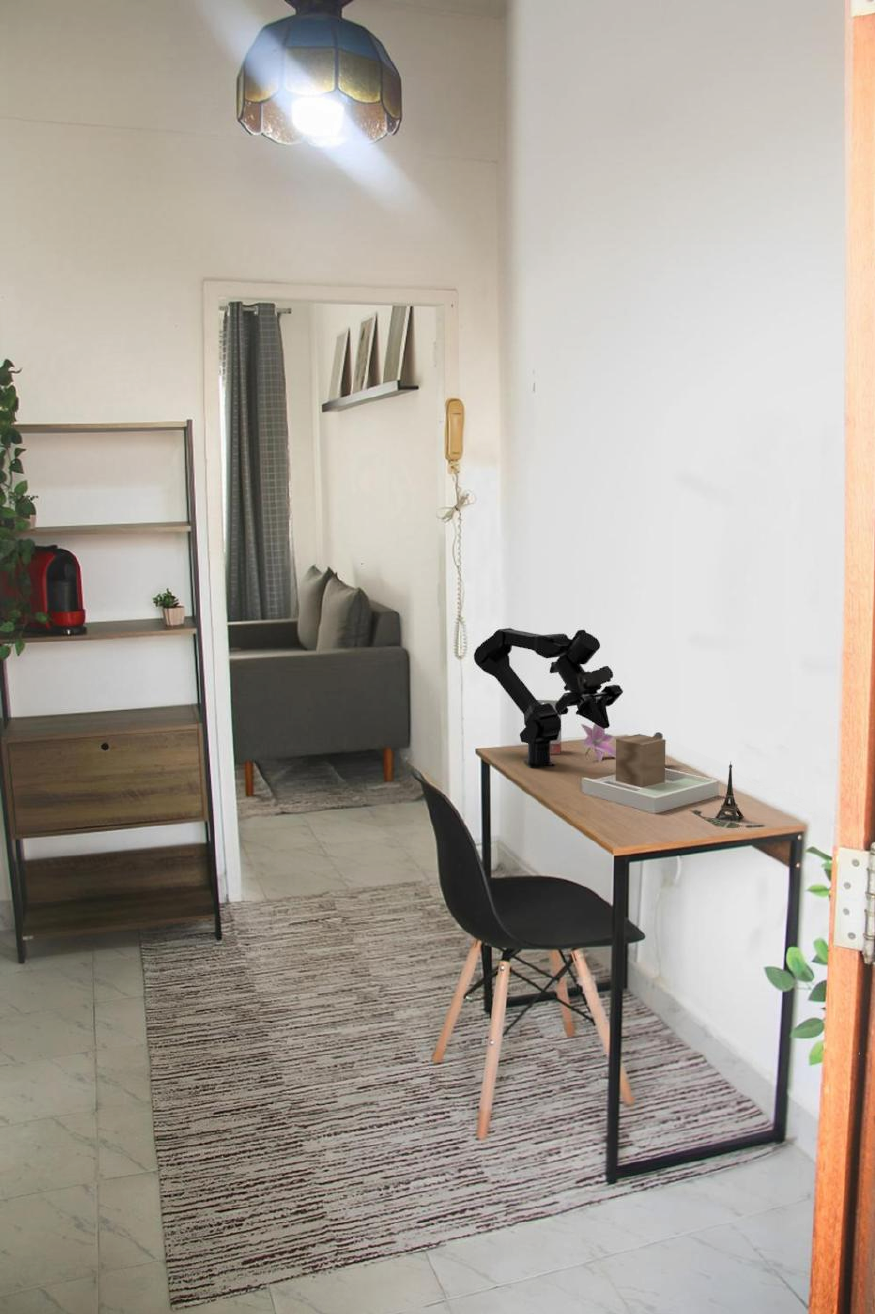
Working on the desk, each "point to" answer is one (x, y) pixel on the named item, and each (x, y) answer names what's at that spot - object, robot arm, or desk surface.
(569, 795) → the desk surface
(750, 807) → the desk surface
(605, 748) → the lily
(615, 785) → the box
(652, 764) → the walnut block
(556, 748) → the ink cartridge box
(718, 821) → the eiffel tower figurine
